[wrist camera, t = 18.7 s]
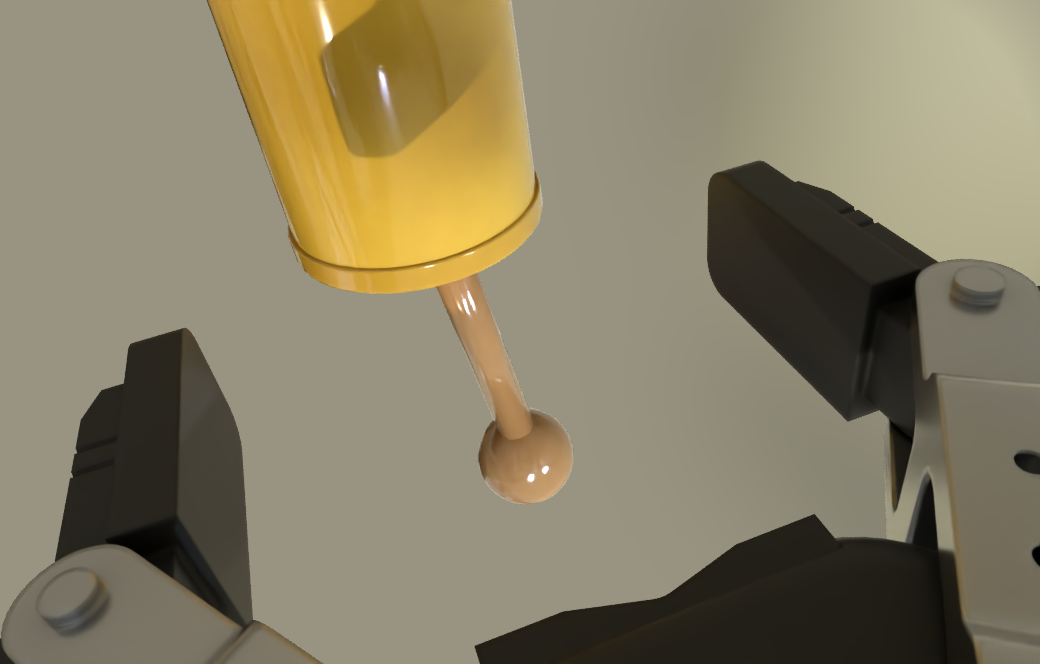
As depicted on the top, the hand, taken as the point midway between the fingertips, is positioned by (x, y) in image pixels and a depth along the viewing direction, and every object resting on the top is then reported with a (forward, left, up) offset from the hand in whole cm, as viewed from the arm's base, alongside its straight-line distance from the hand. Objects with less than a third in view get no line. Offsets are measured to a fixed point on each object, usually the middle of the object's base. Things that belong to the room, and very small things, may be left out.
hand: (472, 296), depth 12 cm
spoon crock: (0, -7, -9) cm, 11 cm away
